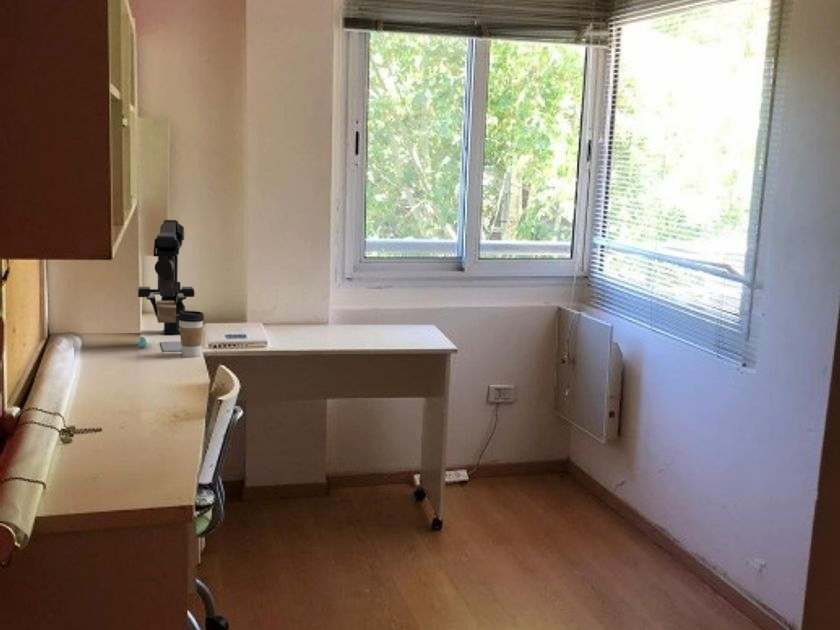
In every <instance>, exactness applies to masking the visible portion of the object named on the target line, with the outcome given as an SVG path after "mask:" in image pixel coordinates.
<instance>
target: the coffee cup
mask: <svg viewBox="0 0 840 630" xmlns="http://www.w3.org/2000/svg"><path fill="white" fill-rule="evenodd" d="M178 318H179V320H180V334H179V335H180V341H181V346H182V351H181V355H182V357H185V358H196V357H198V358H199V357H200V356H201V351H202V349H201V347H202V339H203V331H204V325H203V323H204V320H205V315H204V313H203V312H202V311H196V310H195V311H194V310H185V311H180V312H179V317H178Z"/></svg>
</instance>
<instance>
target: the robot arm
mask: <svg viewBox="0 0 840 630" xmlns="http://www.w3.org/2000/svg"><path fill="white" fill-rule="evenodd" d="M183 241H185V227H184V226H183V225H182V224H180V223H179V220H177V219H164V220H163V223H162V224H161V225H160V227H159V233H158V234H157V235H156V238H154V243H153V244H154V245H153V257H157V261H156V263H155V264H154V270H155V273H156V274H157V288H150V287H151V286H138V287H137V297H138V298H146V300H148V301H149V302H150V303H151V305H152V308H153V311H154V314H155V317H156V318H157V306H156V301H157V300H156V295H160V297H161V300H160V301H174V302H175V305H176V323H163V329H162V330H161V331H162V334H163V335H167V336H168V335H180V320H179V318H178V317H179V312H180V311H186V305H184V302H183V301H184V300H187V298H194V297H195V294H196V293H195V289H194V287H193V286H181V281H178V279H179V278H178V277H179V275H178V274H179V270H178V269H179V255H180V250H181V248H182V247H183V244H184V243H183Z"/></svg>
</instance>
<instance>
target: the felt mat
mask: <svg viewBox="0 0 840 630" xmlns="http://www.w3.org/2000/svg"><path fill="white" fill-rule="evenodd" d="M159 344H160V346H161V348H162V351H163V353H171V352H173V353H174V352H182V346H181V340H180V341H175V340H174V341H160V342H159Z"/></svg>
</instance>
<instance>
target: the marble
mask: <svg viewBox="0 0 840 630" xmlns="http://www.w3.org/2000/svg"><path fill="white" fill-rule="evenodd" d="M137 345H138V347H139V348H141V349H144V348H146V347H147V346H148V341H147V340H146V341H145V340H143V339H142V340H140V341H139V342H138V343H137Z"/></svg>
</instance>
